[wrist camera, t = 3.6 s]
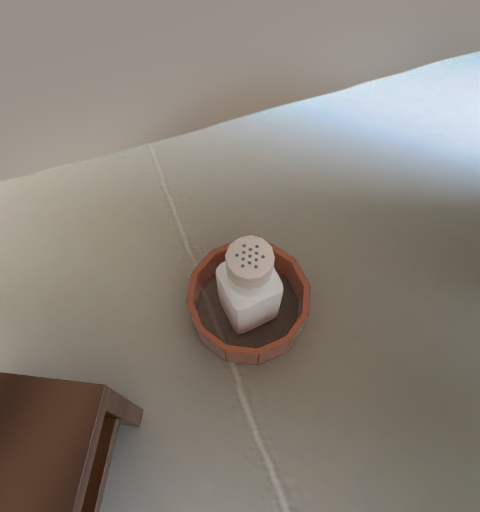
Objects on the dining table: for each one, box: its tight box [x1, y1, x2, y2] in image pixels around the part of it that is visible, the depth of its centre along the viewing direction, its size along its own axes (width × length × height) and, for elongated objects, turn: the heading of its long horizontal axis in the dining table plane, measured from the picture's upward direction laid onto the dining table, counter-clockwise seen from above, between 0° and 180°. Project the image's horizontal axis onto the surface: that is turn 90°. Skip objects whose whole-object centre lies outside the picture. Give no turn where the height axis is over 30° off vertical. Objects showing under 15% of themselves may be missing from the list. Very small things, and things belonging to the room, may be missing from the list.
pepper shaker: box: [216, 235, 283, 334], centre depth 31 cm, size 4×4×10 cm
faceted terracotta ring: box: [187, 242, 310, 365], centre depth 34 cm, size 9×9×3 cm
